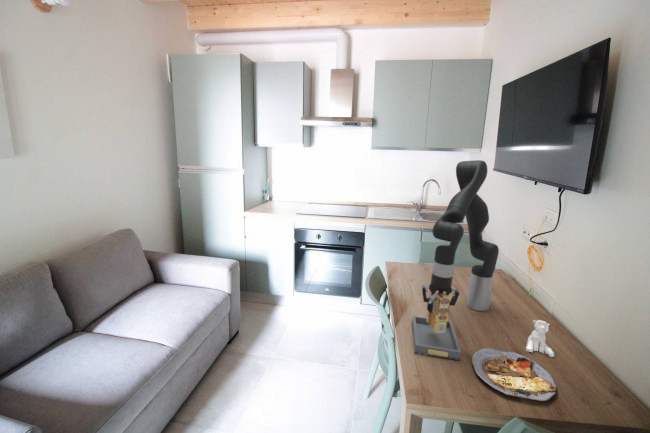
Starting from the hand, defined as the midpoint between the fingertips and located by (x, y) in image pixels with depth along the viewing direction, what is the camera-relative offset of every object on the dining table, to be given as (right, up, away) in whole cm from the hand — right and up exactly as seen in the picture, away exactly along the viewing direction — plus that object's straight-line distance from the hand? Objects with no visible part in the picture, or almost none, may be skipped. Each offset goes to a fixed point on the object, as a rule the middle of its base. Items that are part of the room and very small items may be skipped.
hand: (437, 312), depth 121 cm
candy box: (0, -7, +2) cm, 7 cm away
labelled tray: (0, -12, +3) cm, 12 cm away
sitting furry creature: (+39, -14, 0) cm, 41 cm away
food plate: (+20, -18, -15) cm, 31 cm away
